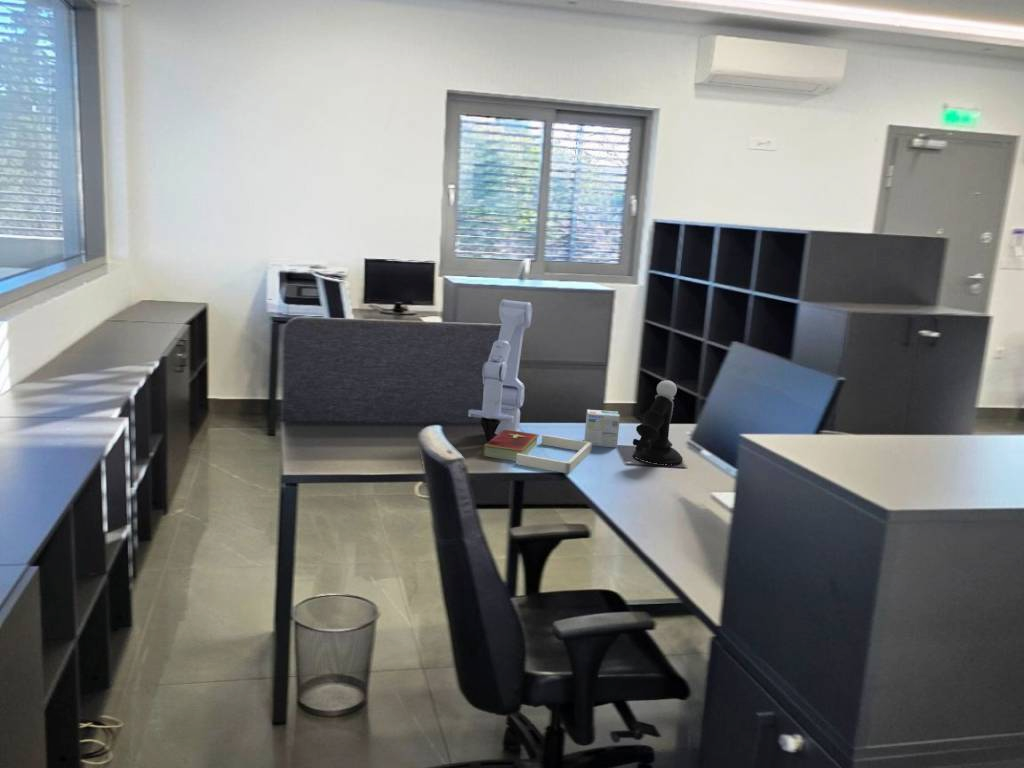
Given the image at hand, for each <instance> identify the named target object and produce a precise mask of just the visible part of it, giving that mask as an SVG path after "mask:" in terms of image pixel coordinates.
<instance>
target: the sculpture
mask: <svg viewBox="0 0 1024 768" xmlns="http://www.w3.org/2000/svg"><path fill="white" fill-rule="evenodd" d="M677 391H678V388H677V385H676V383H674V382H673V381H672V380H667V379H666V380H661V381H660V382H658V384H657V386H656V393H657V394H655V396H654V401H653V403H652V405H651V406H650V409H649V410H646V411H645V412H644V414H643V420H642V422H641V423H640V424H639V425H637V426H636V428H635V429H636V433H637V434H638V435H639V436H640V438H639V439H637V438H633V440H632V445H633V446H635V450H634V451H633V457H634V456H635V457H637V458H639V459H641V460H644V461H648V462H651V463H657V464H664V465H665V464H667V465H671V464H672V465H673V466H675V465H674V464H679V465H681V464H682V463H683V460H684V459H683V458H684V457H683V456H682V455H681V453H680V452H679V451H677V450H676V449H675V448H673V443H672V442H671V441H670V439H669V436H670V435H669V434H670V424H671V421H672V420H671V419H672V416H673V413H674V412H673V411H674V409H673V408H674V405H675V404H674V401H673V400H674V399H675V395H677ZM635 457H634V458H635ZM681 462H682V463H681ZM680 463H681V464H680Z"/></svg>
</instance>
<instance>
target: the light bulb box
mask: <svg viewBox="0 0 1024 768" xmlns="http://www.w3.org/2000/svg"><path fill="white" fill-rule="evenodd" d="M585 415H586V417H585V429H584V440H583V441H586V442H592V447H594V446H595V447H605V448H606V447H607V448H618V439H619V429H620V417H621V415H620V413H619V411H612V410H601V409H600V410H599V409H586V414H585Z"/></svg>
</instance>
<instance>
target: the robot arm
mask: <svg viewBox="0 0 1024 768" xmlns="http://www.w3.org/2000/svg"><path fill="white" fill-rule="evenodd" d="M498 315H499V319H500V322H501V325H500V329H499V335H498V339H497V340H495V341H494V342H493V344H492V347H491V349H490V353H489V355H488V359H487V361H485V362H484V363H483V365H482V370H481V371H482V373H481V375H482V385H483V393H482V395H483V397H482V408H481V410H479V409H472V408H471V409H468V412H467V413H468V414H467V416H468V417H470V418H472V417H473V418H481V420H480V425H481V427H482V430H483V433H484V437H485V443H488V442H489V441H490V440H491V439H493V438H494V437H495V435H496V436H497V435H498V434H499V433H500V432H502V431H503V430H504V429H506V430H512V431H519V432H523V430H522V429H520V420H521V410H520V408H522V406H523V405H524V402H525V389H526V386H525V385H524V383H523V382H522V381H521V380H520V379H519V378H518V376H519V369H520V361H521V355H522V349H523V342H524V341H523V340H524V334H525V330H526V329H528V328H530V327H531V323H532V317H533V305H532V304H531V302H530V301H527V302H526V301H519V300H518V301H517V300H509V299H508V300H507V299H504V298H503V299H501V301H500V304H499V307H498Z"/></svg>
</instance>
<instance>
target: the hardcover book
mask: <svg viewBox="0 0 1024 768" xmlns="http://www.w3.org/2000/svg"><path fill="white" fill-rule="evenodd" d="M539 436H540V434H537V433H533V432H532V433H531V432H526V431H525V432H524V431H521V432H519V431H512V430H506V429H504V430H503V431H502V432H500V433H499V434H498V435H497V434H496V435H494V437H493V439H491V440H490V441H489V442H488V443H487V442H485V444H484V445H483V447H482V457H490V458H495V459H502V460H508V461H514V462H516V459H517V454H518V453H519V454H524V455H529V454H530V452H531V451H533V449H534V448H535V447H536V446H537V443H538V437H539Z"/></svg>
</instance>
